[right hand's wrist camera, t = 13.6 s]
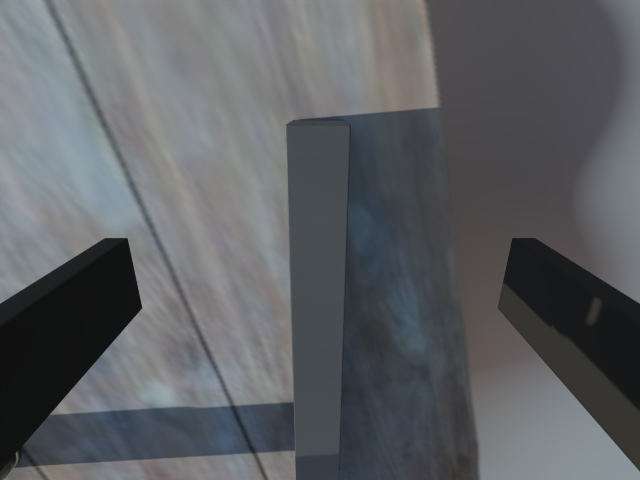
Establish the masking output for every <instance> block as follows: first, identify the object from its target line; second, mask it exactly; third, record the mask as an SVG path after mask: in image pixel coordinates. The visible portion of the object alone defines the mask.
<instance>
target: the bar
mask: <svg viewBox="0 0 640 480" xmlns="http://www.w3.org/2000/svg"><path fill="white" fill-rule="evenodd" d="M350 130H351V126H350V125H349V124H348V123H346V122H345V121H344V120H293V121H291V122H290V123H288V124H287V125H285V133H286V166H287V199H288V231H289V264H290V297H291V329H292V362H293V395H294V427H295V460H296V480H339V459H340V429H341V399H342V369H343V339H344V309H345V279H346V249H347V219H348V189H349V159H350Z"/></svg>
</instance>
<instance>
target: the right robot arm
mask: <svg viewBox="0 0 640 480" xmlns="http://www.w3.org/2000/svg"><path fill="white" fill-rule="evenodd" d="M141 309H142V304H141V300H140V295H139V290H138V286H137V281H136V276H135V271H134V267H133V262H132V257H131V252H130V248H129V243H128V238H105V239H103V240H101V241H100V242H98V243H97V244H95V245H93V246H92V247H90V248H89V249H87V250H85V251H84V252H82V253H81V254H79V255H77V256H76V257H74V258H73V259H71V260H69V261H68V262H66V263H65V264H63V265H61V266H60V267H58V268H57V269H55V270H54V271H52V272H50V273H49V274H47V275H46V276H44V277H42V278H41V279H39V280H38V281H36V282H34V283H33V284H31V285H30V286H28V287H26V288H25V289H23V290H22V291H20V292H18V293H17V294H15V295H14V296H12V297H10V298H9V299H7V300H6V301H4V302H2V303H1V304H0V471H1V470H2V469H3V468H4V466H5V465H6V464H7V463H8V462H9V461H10V459H11V458H12V457H13V456H14V455H15V454H16V453H17V451H18V450H19V449H20V448H21V447H22V446H23V445H24V443H25V442H26V441H27V440H28V439H29V438H30V436H31V435H32V434H33V433H34V432H35V431H36V430H37V428H38V427H39V426H40V425H41V424H42V423H43V422H44V420H45V419H46V418H47V417H48V416H49V415H50V413H51V412H52V411H53V410H54V409H55V408H56V407H57V405H58V404H59V403H60V402H61V401H62V400H63V399H64V397H65V396H66V395H67V394H68V393H69V392H70V390H71V389H72V388H73V387H74V386H75V385H76V384H77V382H78V381H79V380H80V379H81V378H82V377H83V376H84V374H85V373H86V372H87V371H88V370H89V369H90V367H91V366H92V365H93V364H94V363H95V362H96V361H97V359H98V358H99V357H100V356H101V355H102V354H103V353H104V351H105V350H106V349H107V348H108V347H109V346H110V345H111V343H112V342H113V341H114V340H115V339H116V338H117V336H118V335H119V334H120V333H121V332H122V331H123V330H124V328H125V327H126V326H127V325H128V324H129V323H130V322H131V320H132V319H133V318H134V317H135V316H136V315H137V313H138V312H139V311H140V310H141ZM498 309H499V310H500V311H501V312H502V313H503V315H504V316H505V317H506V318H507V319H508V320H509V322H510V323H511V324H512V325H513V326H514V327H515V328H516V330H517V331H518V332H519V333H520V334H521V335H522V336H523V338H524V339H525V340H526V341H527V342H528V343H529V345H530V346H531V347H532V348H533V349H534V350H535V351H536V353H537V354H538V355H539V356H540V357H541V358H542V359H543V361H544V362H545V363H546V364H547V365H548V366H549V368H550V369H551V370H552V371H553V372H554V373H555V374H556V376H557V377H558V378H559V379H560V380H561V381H562V382H563V384H564V385H565V386H566V387H567V388H568V389H569V390H570V392H571V393H572V394H573V395H574V396H575V397H576V399H577V400H578V401H579V402H580V403H581V404H582V405H583V406H584V408H585V409H586V410H587V411H588V412H589V413H590V415H591V416H592V417H593V418H594V419H595V420H596V422H597V423H598V424H599V425H600V426H601V427H602V428H603V430H604V431H605V432H606V433H607V434H608V435H609V436H610V438H611V439H612V440H613V441H614V442H615V443H616V445H617V446H618V447H619V448H620V449H621V450H622V451H623V453H624V454H625V455H626V456H627V457H628V458H629V459H630V461H631V462H632V463H633V464H634V465H635V466H636V467H637V469H638V470H639V471H640V304H639V303H638V302H636V301H634V300H633V299H631V298H630V297H628V296H626V295H625V294H623V293H622V292H620V291H618V290H617V289H615V288H614V287H612V286H610V285H609V284H607V283H606V282H604V281H602V280H601V279H599V278H598V277H596V276H594V275H593V274H591V273H590V272H588V271H586V270H585V269H583V268H582V267H580V266H579V265H577V264H575V263H574V262H572V261H571V260H569V259H567V258H566V257H564V256H562V255H561V254H559V253H558V252H556V251H555V250H553V249H551V248H550V247H548V246H547V245H545V244H543V243H542V242H540V241H539V240H537V239H535V238H513V239H512V243H511V248H510V252H509V257H508V262H507V267H506V271H505V276H504V281H503V286H502V290H501V295H500V300H499V304H498Z"/></svg>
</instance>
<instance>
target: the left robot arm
mask: <svg viewBox="0 0 640 480" xmlns="http://www.w3.org/2000/svg"><path fill="white" fill-rule="evenodd" d="M20 458H21V451H20V449H19V450H18V451H17V453H16V454H15V455H14V456H13V457H12V458H11V459H10V461H9V462H8V463H7V464H6V465H5V466H4V468H3V469H2V470H1V471H0V480H3V479H4V478H5V477H6V476H7V475H8V473H9V472H10V471H11V470H12V469H13V468H14V467H15V466H16V465H17V464H18V462H19V461H20Z"/></svg>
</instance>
